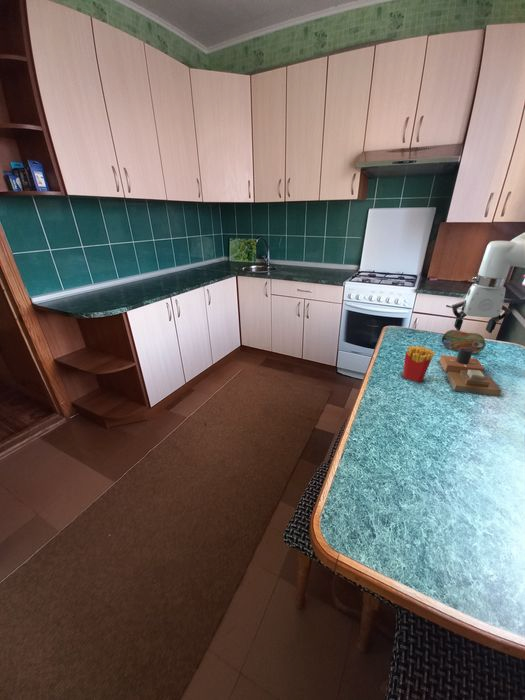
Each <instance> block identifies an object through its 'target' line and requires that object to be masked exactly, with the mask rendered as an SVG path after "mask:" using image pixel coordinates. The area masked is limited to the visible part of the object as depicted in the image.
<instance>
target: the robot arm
mask: <svg viewBox="0 0 525 700" xmlns="http://www.w3.org/2000/svg"><path fill="white" fill-rule="evenodd" d="M511 267H517V268H523V269H525V231H524V232H523V233H521V234H519V235H517V236H516V237H514V238H512V239H511V240H492V241H489V243H488V244H487V246H486V248H485V250H484V254H483V257H482V261H481V264H480V266H479V269H478V273H477V274H476V276H472V277H471V279H470V281H471V282H473V283H472V284H471V286H469V289H468V291H467V292H466V295H465V297H464V300H463V301H460V302H456V303H454V304H452V305H450V306H451V307H450V308H451V310H452V313H453V315H454V316H455V321H454V325H453V326H454V328H455V330H460V331H461V329H462V325H463V322H464V318H465V317H467V316H468V317H477V318H489V320H488V321H487V325H486V327H485V331H486V332H488V334H492V333H493V331H494V330H495V328H496V325H497V323H500V321H501V320H503V319H505V318H506V316H507V315H509V314H510V313H511V311H512V309H510V308H508V306H505V305H504V301H505V297H506V287H505V286H504V285H505V282H506V280H507V278H508V274H509V273H510V269H511ZM459 308H461V310H460V311H458V309H459Z"/></svg>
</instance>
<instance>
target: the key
mask: <svg viewBox="0 0 525 700" xmlns="http://www.w3.org/2000/svg"><path fill="white" fill-rule="evenodd" d="M483 374H484V373H483ZM483 374H482V372H481V371H478V370H468V372H467V375H468V376H469V377H470V379H478V380H483V379H484V375H485V374H484V375H483Z"/></svg>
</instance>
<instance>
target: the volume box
mask: <svg viewBox="0 0 525 700" xmlns="http://www.w3.org/2000/svg"><path fill="white" fill-rule="evenodd" d="M456 359H457V355H456V356H455V355H445V354H441V356H440V358H439V363H440V365H441V367H442V369H443V371H444V372H445V373H448V372H456V373H460V372H461V370H464V371H468V370H478V371H481V372H482V373H483V374H484V372H485V369H486V368H485V367H484V366H483V364H482V363H481V362H480V361H479V360H478V358H476V357H471V358H470V361H469V363H468V364H461V363H459V362H457V361H456Z"/></svg>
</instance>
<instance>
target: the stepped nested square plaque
mask: <svg viewBox="0 0 525 700" xmlns="http://www.w3.org/2000/svg"><path fill="white" fill-rule="evenodd" d="M467 372H468V371H464V370H461V372H460V373H456V372H447V373H446V379H447V380H448V382H449V384H450V386H451V387H452V389H453V391H454V392H461V393H468V394H469V393H470V394H477V395H478V394H479V395H485V396H486V395H487V396H494V397H500V396H501V393H502V390H501V389H502V388H500V387H499V385H498V384H497V382H495V380H494V379H493V378H492V377H491V376H490V375H485V374H484V373H482V374H483V375H484V379H483V380H478V379H470V377H469V376H468V375H467Z"/></svg>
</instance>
